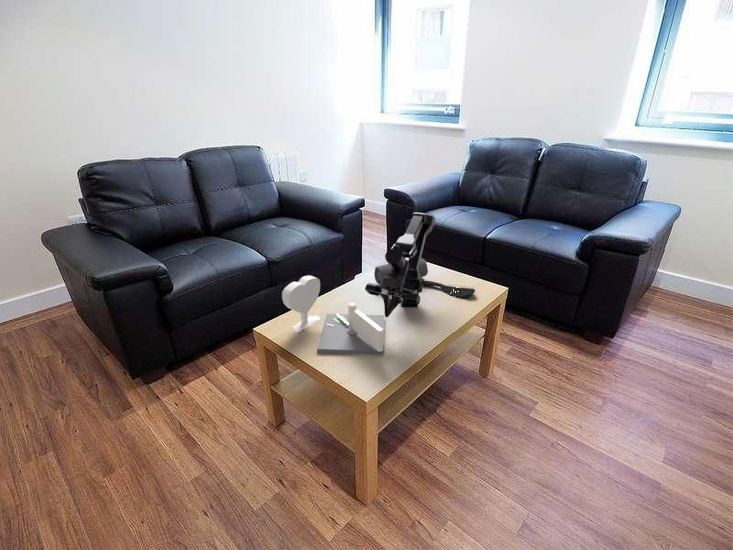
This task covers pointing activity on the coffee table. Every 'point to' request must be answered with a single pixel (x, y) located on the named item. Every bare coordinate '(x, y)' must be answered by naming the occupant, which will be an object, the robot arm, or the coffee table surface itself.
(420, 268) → the bluetooth speaker
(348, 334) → the grey flat panel
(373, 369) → the coffee table surface
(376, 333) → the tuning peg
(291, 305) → the heart sculpture
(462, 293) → the hairbrush
